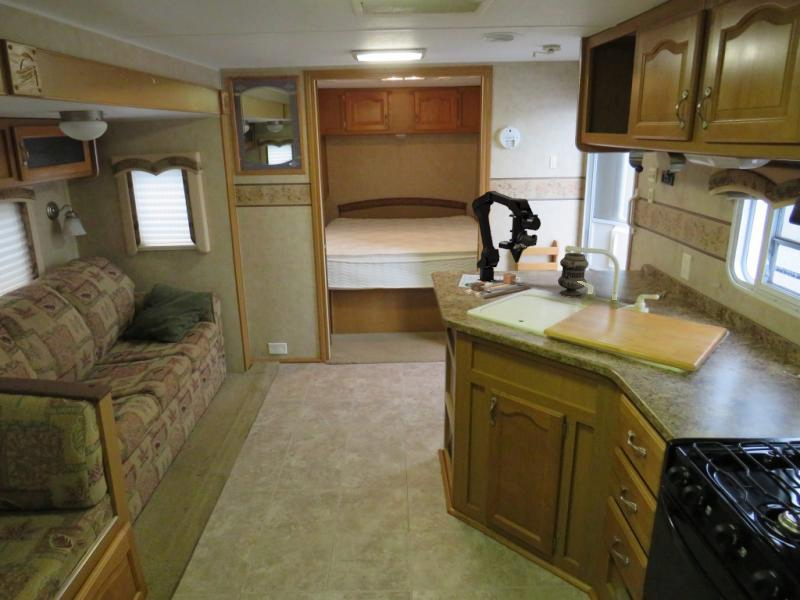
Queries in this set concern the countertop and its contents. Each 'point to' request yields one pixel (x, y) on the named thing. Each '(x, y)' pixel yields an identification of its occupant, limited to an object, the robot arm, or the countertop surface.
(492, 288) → the beam board
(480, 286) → the fixed point
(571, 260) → the apothecary jar
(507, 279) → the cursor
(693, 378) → the countertop surface
